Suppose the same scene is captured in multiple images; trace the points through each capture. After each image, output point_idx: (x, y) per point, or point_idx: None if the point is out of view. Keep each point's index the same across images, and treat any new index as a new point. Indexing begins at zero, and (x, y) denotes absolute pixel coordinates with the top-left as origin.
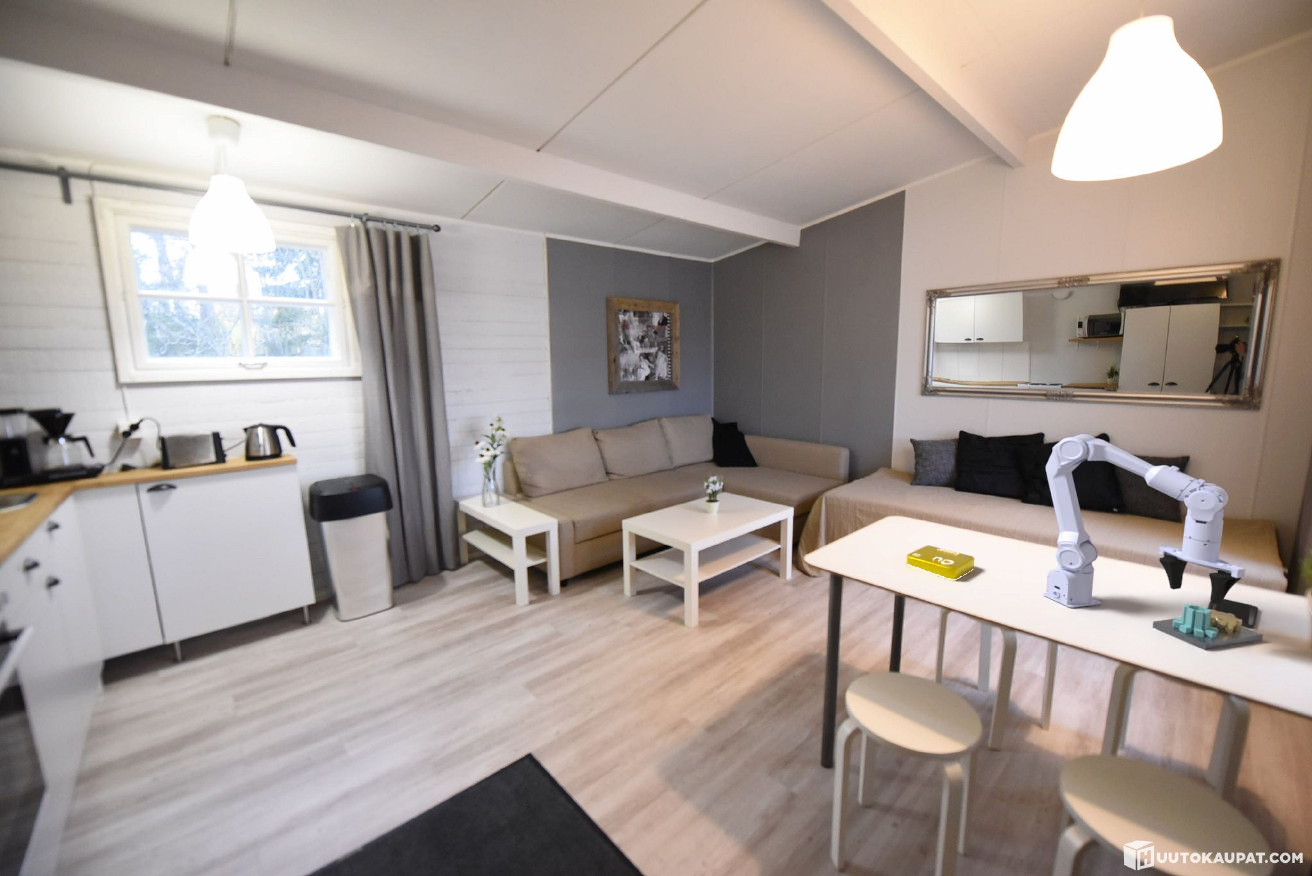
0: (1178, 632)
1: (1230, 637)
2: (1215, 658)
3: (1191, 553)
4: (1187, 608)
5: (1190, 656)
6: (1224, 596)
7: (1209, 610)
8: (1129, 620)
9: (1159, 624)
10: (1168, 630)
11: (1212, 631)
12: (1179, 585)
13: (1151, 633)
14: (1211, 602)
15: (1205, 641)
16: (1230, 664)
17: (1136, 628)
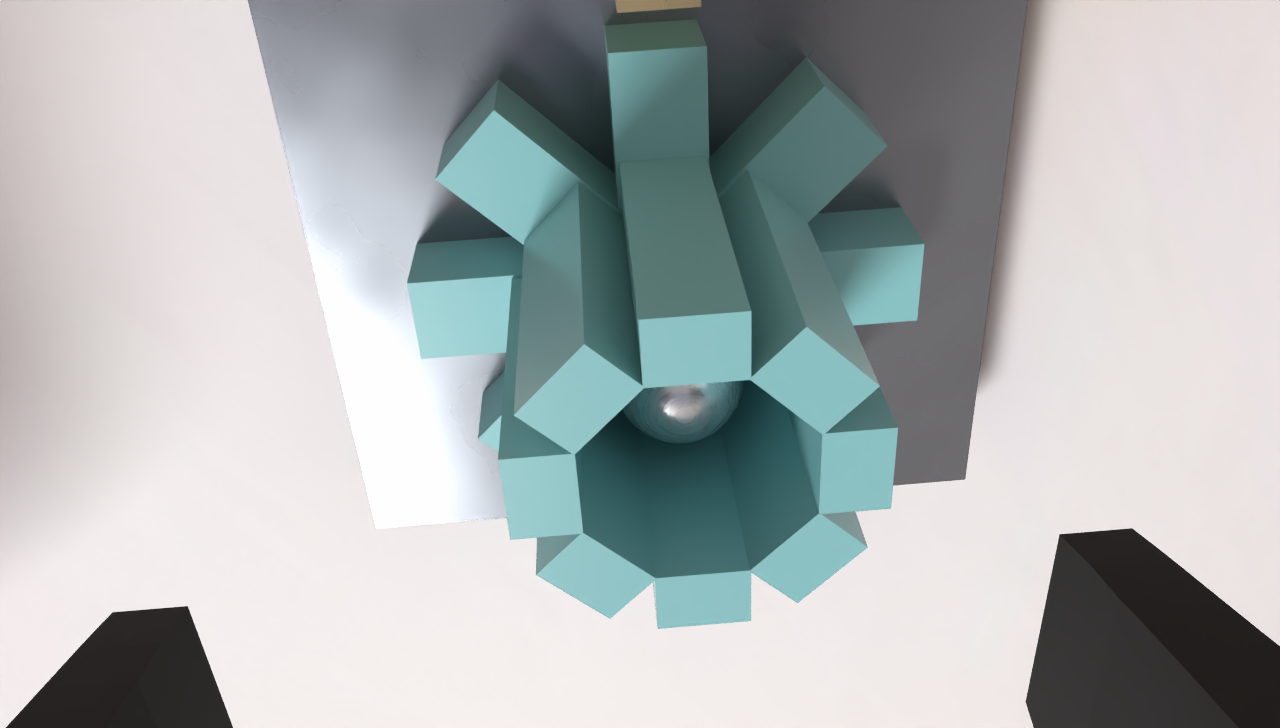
0: None
1: (975, 11)
2: (1076, 484)
3: None
4: (667, 627)
5: (965, 640)
6: (1276, 662)
7: (833, 371)
8: (189, 548)
9: (452, 519)
10: None
11: (888, 278)
12: (168, 716)
13: (516, 587)
14: (1037, 707)
15: (930, 439)
16: (1198, 465)
17: (393, 627)
